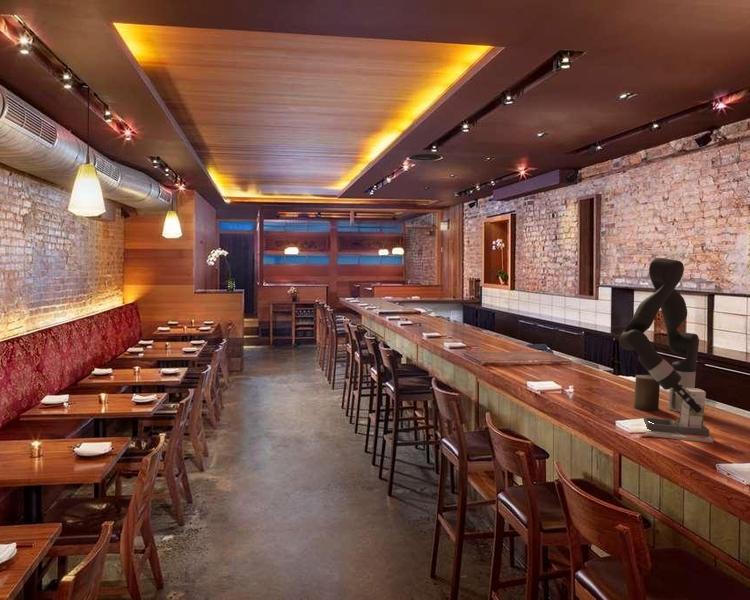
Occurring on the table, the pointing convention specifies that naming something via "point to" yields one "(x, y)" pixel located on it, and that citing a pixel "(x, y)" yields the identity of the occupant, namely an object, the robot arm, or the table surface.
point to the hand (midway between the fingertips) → (697, 408)
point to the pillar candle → (646, 393)
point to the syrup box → (687, 412)
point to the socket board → (676, 430)
